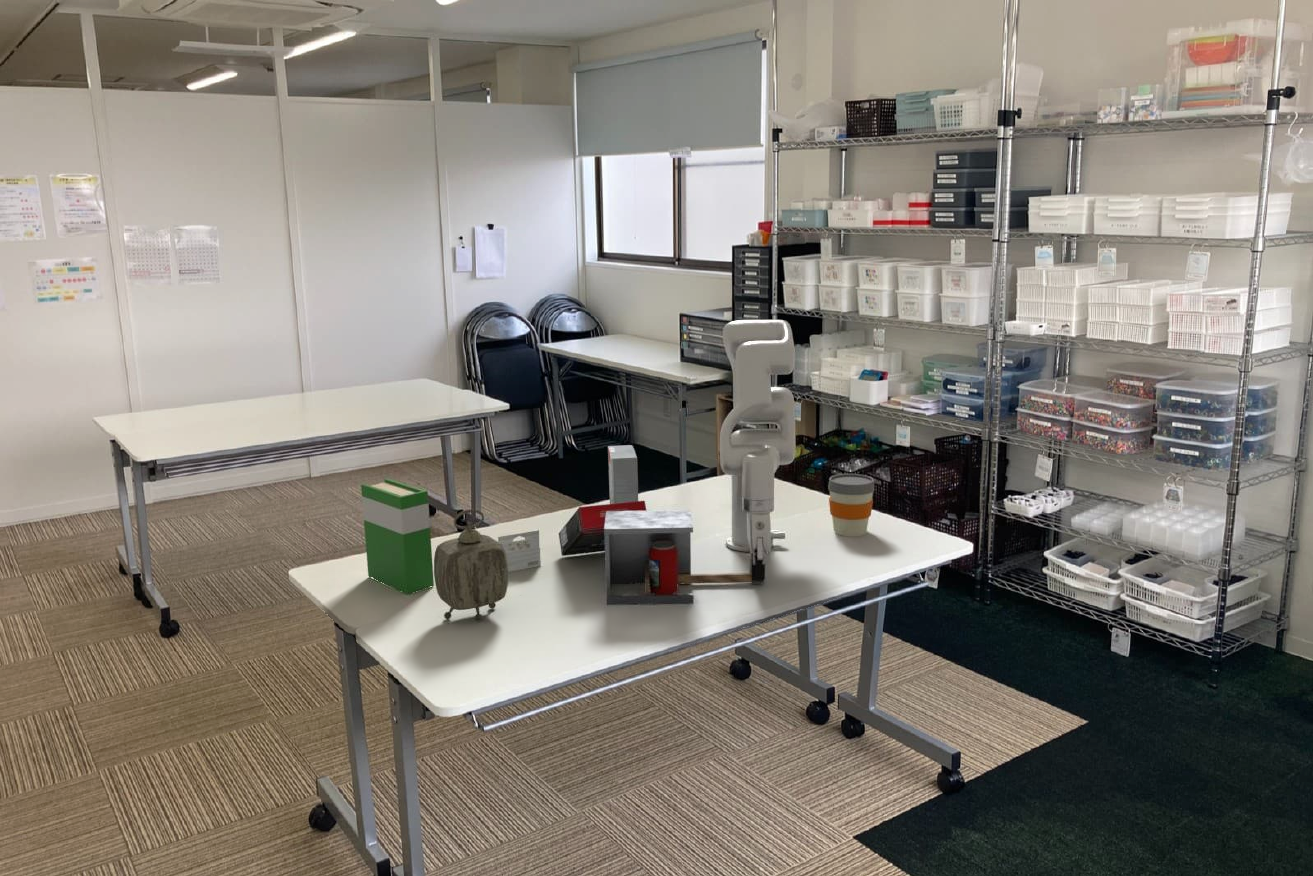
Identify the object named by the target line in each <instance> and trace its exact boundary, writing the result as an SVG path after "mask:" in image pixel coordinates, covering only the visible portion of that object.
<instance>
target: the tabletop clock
mask: <svg viewBox="0 0 1313 876" xmlns="http://www.w3.org/2000/svg"><path fill="white" fill-rule="evenodd" d="M470 513H477V514H479V515H480V516H481V520H480V521H478V522H477V523H474V524H472V522H471V521H468V522H466V525H463V526H462V525H458V524H457V519H458V518H460V517H461V516H462V515H467V514H470ZM484 520H485V516H484V513H483V512H482V511H481V510H479V509H475V508H471V509H465V510H462V511H460V512H459V513H458V514H456V516H455V517H454V520H453V525H454V527H456V528H457V529H461V530H463V531H461V532H460V534H459V536H458V537H455V538H452V539H449V540H445V541H443V542H441V543H439V544H438V545H437V546H436V549H435V551H434V557H433V558H434V559H433V564H434V565H433V578H434V585H435V589H436V592H437V595H438V596H439V598H440V600H441V601H443V602H444V603H445V604H446V605H448V606H449V607H450V609H449V610H448V611H446V612H445V613H444V614H443V617H444V619H446V620H450V619H451V618H452V613H453V611H454V610H457V611H465V610H472V609H475V612H476V614H475V616H474V619H475V621H477V622H481V621H482V620H483V615H482V614H481V613H480V608H481V607H486V606H488V608H489V609H495V608H496V606H497V604H496V603H498V602H500V601H501V600H503V599H504V598H505V597H506V594H507V590H508V583H509V580H508V579H509V572H508V566H507V558H506V553H505V550H504V548H503V546H502V544H500V543H499V542H498V540H496V539H494V538H492V537H491V536H489V535H486V534H481V532H479V531H478V530H477V529H474V528H476V527H479V526H480V525H481V524H482V523H483V521H484Z"/></svg>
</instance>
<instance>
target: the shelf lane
mask: <svg viewBox="0 0 1313 876" xmlns="http://www.w3.org/2000/svg"><path fill="white" fill-rule="evenodd" d="M646 510H647V509H646ZM693 533H694V524H693V519H692V512H691V509H664V510H663V509H658V510H657V509H654V510H652V509H651V510H647V511H606V517H605V526H604V535H605V551H604V561H605V562H604V565H605V567H604V568H605V605H606V606H625V605H627V606H629V605H630V606H631V605H632V606H634V605H636V606H637V605H638V604H640V605H677V604H678V605H679V604H680V605H681V604H682V605H683V604H686V605H687V604H694V602H695V601H694V598H695V597H694V593H674V594H653V593H650V594H649V595H645V594H614V595H613V594H612V590H613V586H617V585H619V586H622V585H623V586H625V585H645V564H649V550H650V548H651V546H652V543H654V542H657V541H670V542H673V543H674V544H675V547H676V549H677V551H678V574H692V570H691V569H692V565H691V563H692V561H691V560H692V555H691V554H692V553H691V551H692V550H691V547H692V545H691V544H692V543H691V534H693Z"/></svg>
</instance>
